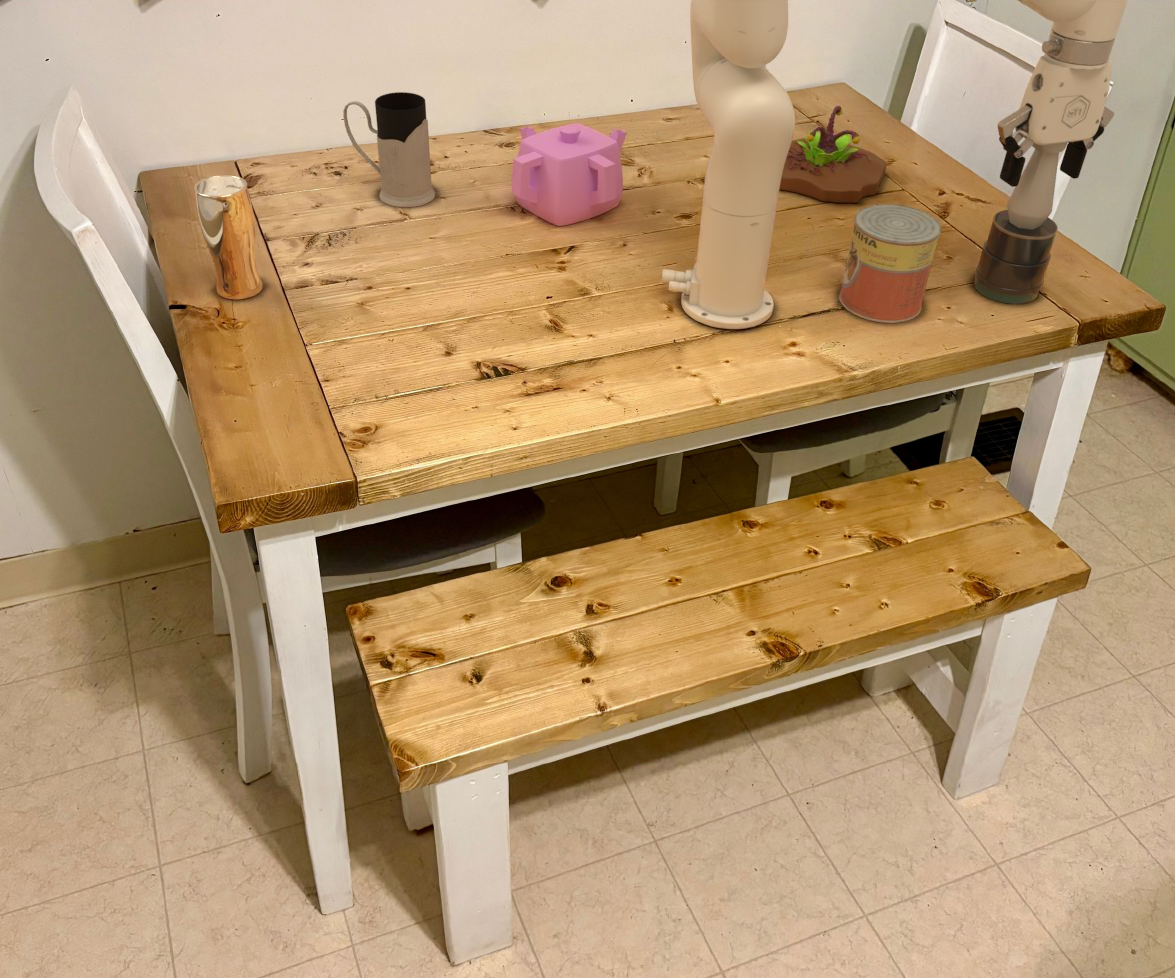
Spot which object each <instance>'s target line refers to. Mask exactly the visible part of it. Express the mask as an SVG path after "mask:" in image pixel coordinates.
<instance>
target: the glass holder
mask: <svg viewBox="0 0 1175 978" xmlns="http://www.w3.org/2000/svg"><path fill="white" fill-rule="evenodd" d="M352 105H356V106H358V107H359V108H361V110H362V111H363V112H364V115H365V116H366V121H367V127H368V130H369V131H370V132H372V133H373V134H376V143H377V153H378V164H376V163H375V162H374V161H373V160H372V159H371V158H370V157H369V156H368V155H367V154H366V153H365V151H364V150H363V149H362V148H361V147H360V146H359V145H358V143H357V141H356V139H355V137H354V136H353V133H352V131H351V127H350V125H349V119H348V108H349V106H352ZM374 106H375V118H376V119H375V120H376V128H377V129H375V128H374V127H373V124H372V117H371V114H370V111H369V110H368V108H367V106H365V105H364V103H362V102H360V101H357V100H353V101H350V102H348V103H347V104H346V105H345V106H344V109H343V114H342V115H343V123H344V127H345V130H346V133H347V136H348V138H349V140H350V142H351V144H352V145H353V147H354V149H355V150H356V151H357V152H358V153H359V155H361V156H362V158H363V159H364V160H365V161H366V162H367V163H368V164H370V166H372V167H373V169H374V170H375V171H376V172H377V173H378V175H380V176H379V177H380V186H381V187H380V191H379V195H378V197H379V199H380V201H381V202H382V203H384V204H385V205H389V206H392V207H398V208H415V207H416V208H417V207H420V206H424V205H426V204H428V203H430V202H432V201H433V200H434V199H435V197H436V192H435V189H434V188H433V186H432V172H431V171H432V170H431V169H432V168H431V151H430V134H429V119H427V108H426V107H427V104H426V99H425V97H424V96H422V95H419V94H418V93H413V92H404V91H403V92H402V91H399V92H398V91H397V92H389V93H385V94H382V95H380V96H378V97H377V98H376V99H375V100H374Z"/></svg>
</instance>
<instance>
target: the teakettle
mask: <svg viewBox="0 0 1175 978" xmlns="http://www.w3.org/2000/svg"><path fill="white" fill-rule="evenodd" d="M519 134H520V136H521V142H520V146H519V149H518V155H517V157H514V158H512V159H513V160H512V171H511V173H512V174H511V176H512V177H511V184H510V185H511V187H510V193H511V194H512V195H513V196H514V197H515V199H516V202H517V204H518V205H519V206H520V207H522V208H523V209H525V210H526V211H528V212H530V213H531V214H533V215H535V216H537V217H539V218H540V219H542V220H544V221H546V222H547V223H550V224H551V225H554V226H556V227H564V226H570V225H573V224H577V223H580V222H583V221H586V220H590V219H593V218H595V217H599V216H600V215H602V214H605V213H607V212H610V211H611V210H613V209H615V208H616V207H618V206H619V204H620V202H621V199H622V197H623V192H624V177H623V165H622V160H621V159H622V158H621V152H622V148H623V147H624V143H625V141H626V137H627V134H628V132H627V131H625V130H623V129H612V132H611V133H610V135H606V134H604V133H602V132H599V131H598V130H596V129H594V128H591V127H589V126H586V125H584V124H582V123H579V122H577V123H576V122H575V123H569V124H564V125H561V126H557V127H554V128H549V129H546V130H543V131H540V132H536V131H535V129H534V127H532V126H524V127H521V128H519Z"/></svg>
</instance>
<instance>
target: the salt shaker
mask: <svg viewBox="0 0 1175 978" xmlns="http://www.w3.org/2000/svg"><path fill="white" fill-rule="evenodd" d="M1067 144H1068V142H1067V143H1059V144H1050V145H1037V144H1035V143H1034V144H1033V145H1032V146H1031V147H1032V148H1034V150H1033V152H1032V154H1031V156H1030V158H1029V160H1028V162H1027V164H1026V165H1025V167H1024V168H1023V170H1022V174H1021V177H1020V180H1019V184H1018V185H1017V186H1015V187H1014V189H1013V191H1012V193H1011V195H1010V197H1009V199H1007V200H1008V201H1007V204H1006V205H1007V210H1008V214H1009V221H1010V223H1011V224H1013V225H1015V226H1016V227H1018V228H1023V229H1031V230H1033V229H1035V228H1037V227H1040V226H1041V225H1042V224H1043V222H1044V221H1045V220H1046V219H1047V218H1050V215H1051V214H1052V212H1053V207H1054V199H1055V191H1056V190H1055V189H1056V182H1057V175H1058V174H1057V173H1058V164H1059V158H1060V157H1059V156H1060V153H1062V152H1063V151H1064V150H1066V147H1067Z"/></svg>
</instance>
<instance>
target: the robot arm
mask: <svg viewBox="0 0 1175 978" xmlns="http://www.w3.org/2000/svg"><path fill="white" fill-rule="evenodd" d="M1017 1H1018V2H1019V3H1021V4H1022V5H1024V6H1026V7H1028V8H1029V9H1031V10H1033V11H1034V12H1036V13H1037V14H1038V15H1040V16H1041V17H1043V18H1044V19H1046V20H1048V21H1051V22H1053V23H1052V26H1051V29H1050V33H1049V36H1048V40H1047V41H1046V40H1045V41H1044V42H1042V45H1041V51H1042V53H1044V54H1043V55H1042V56H1040V57H1039V59H1038V62H1037V63H1036V65H1035V67H1034V70H1033V71H1032V73H1031V76H1030V79H1029V80H1028V83H1027V86H1026V88H1025V91H1024V94H1023V97H1022V99H1021V103H1020V106H1019V109H1018V110H1016V111H1014V112H1012V113H1011V114H1010V115H1008V116H1006V117H1005V118H1002V119H1001V120H1000V121H998V122H997V132H998V136H999V137H998V140H999V142H1000V144H1001V145H1002V149H1003V150H1004V151H1005V156H1004V159H1003V163H1002V166H1001V171H1000V174H999V179H1000V180H1002V181H1003V182H1004V183H1006V184H1007V185H1009V186H1010V187H1012V188H1015V187H1016V186H1017V185H1018V184H1019V180H1020V177H1021V175H1022V173H1023V171H1024V168H1025V167H1024V166H1025V163H1026V157H1024V155H1025V154H1026V153H1027V152H1028V150H1029V149H1031V147H1032V145H1033V144H1034V143H1035V144H1037V145H1050V144H1059V143H1067V145H1066V147H1065V149H1064V150H1065V151H1064V154H1063V157H1062V160H1061V163H1060V166H1059V170H1060V172H1062V173H1064V174H1065V175H1067V176H1068V177H1070V178H1071V179H1078V178H1079V177H1080V174H1081V171H1082V169H1083V165H1084V163H1085V159H1086V157H1087V153H1088V150H1091V149H1092V148H1093V147H1094V145H1095V142H1096V140H1098V139H1099V137H1100V136H1102V135H1103V134H1104V132H1105V128H1107V126H1108V125H1109V124H1110V122H1111V121H1112V119H1113V118H1114V116H1115V112H1114V111H1113V110H1111V109H1110V108H1108V107H1107V106H1106V103H1107V99H1108V96H1109V95H1108V94H1109V90H1110V86H1111V85H1110V84H1111V78H1112V71H1113V69H1112V68H1113V61H1112V60H1111V59H1109V58H1110V55H1111V53H1112V50H1113V46H1114V43H1115V40H1116V37H1117V34H1118V30H1119V28H1120V25H1121V22H1122V19H1123V16H1124V13H1125V9H1126V6H1127V3H1128V0H1017ZM689 10H690V11H689V20H690V22H689V25H690V44H691V45H690V46H691V47H690V48H691V49H690V50H691V67H692V79H693V80H692V82H693V92H694V97H695V101H696V103H697V106H698V109H699V111H700V112H701V114H702V115H703V117H704V118H705V120H706V121H707V123H708V125H709V127H710V128H711V130H712V131H713V146H712V150H711V153H710V157H709V160H708V163H707V164H708V165H707V167H706V172H705V176H704V177H705V178H704V186H703V193H702V207H701V215H700V227H699V234H698V243H697V253H696V262H695V263H694V265H693V269H686V271H681V270H680V271H679V270H675V269H674V270H673V269H666V268H663V269H662V273H661V284H666V285H668V292H674V293H678V292H679V293H681V297H680V298H681V299H680V305H681V308H682V309H683V311H684V313H686V314H687V315H688V317H690V318H692V319H693V320H694V321H696V322H699V323H701V324H703V325H706V326H708V327H712V328H718V329H724V330H725V329H726V330H744V329H749V328H754V327H756V326H757V327H758V326H760V325H761V324H764V323H765V322H766V321H768V320H769V319H770V318H771V316H772V315H773V312H774V307H775V305H774V298H773V296H771V294H770V293H769V291H767V289H766V282H767V275H768V269H769V264H770V263H769V262H770V256H771V249H772V242H773V235H774V229H775V223H776V216H777V209H778V200H779V194H780V189H779V188H780V183H781V177H782V172H783V168H784V164H785V161H786V157H787V154H788V151H789V148H790V145H791V142H792V140H794V139H793V138H794V134H795V129H796V128H795V127H796V113H795V109H794V106H793V103H792V100H791V98H790V96H789V94H788V92H787V91H786V89H785V88H784V86H783V84H781V82H779V80H778V79H777V78H776V77H775V76H774V75H773V74H772V73H771V72H770V71H769V70H768V68H767V66H766V65H768V64H770V63H771V62H772V61H774V60H775V59H776V58H777V57H778V55H779V54H780V52H781V51H782V50H783V47H784V45H785V43H786V40H787V39H786V38H787V37H788V29H789V0H691V1H690V9H689ZM1014 129H1015V132H1013V131H1014ZM1023 138H1024V140H1023ZM1021 140H1023V141H1022V142H1021V143H1020V144H1018V143H1019V142H1020V141H1021Z"/></svg>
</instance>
